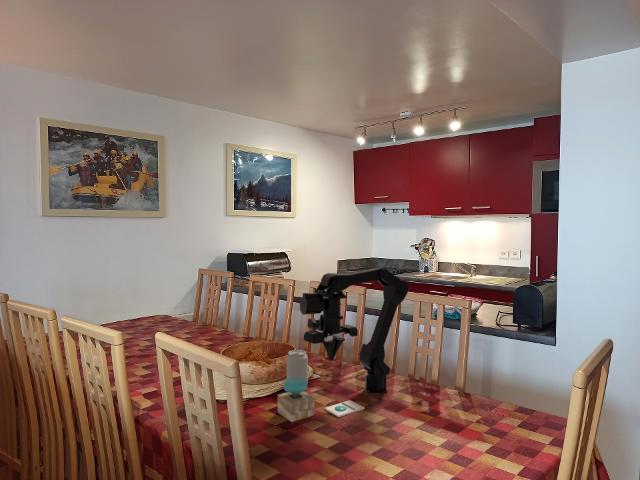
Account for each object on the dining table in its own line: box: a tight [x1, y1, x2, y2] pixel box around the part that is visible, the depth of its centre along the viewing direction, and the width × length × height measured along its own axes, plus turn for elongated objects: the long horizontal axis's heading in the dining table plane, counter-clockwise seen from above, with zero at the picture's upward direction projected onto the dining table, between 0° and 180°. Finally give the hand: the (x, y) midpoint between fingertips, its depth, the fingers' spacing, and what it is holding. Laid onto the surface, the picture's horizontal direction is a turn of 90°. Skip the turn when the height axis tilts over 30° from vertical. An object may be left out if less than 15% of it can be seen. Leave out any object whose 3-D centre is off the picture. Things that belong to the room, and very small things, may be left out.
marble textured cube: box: [277, 391, 315, 423], centre depth 138 cm, size 8×8×6 cm
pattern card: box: [324, 399, 365, 418], centre depth 141 cm, size 10×7×1 cm
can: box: [286, 349, 309, 385], centre depth 162 cm, size 8×8×12 cm
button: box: [283, 378, 308, 399], centre depth 138 cm, size 7×7×5 cm
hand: (331, 359), depth 149 cm, fingers closed
